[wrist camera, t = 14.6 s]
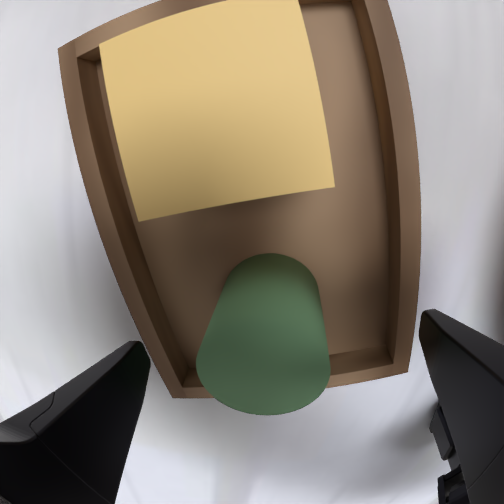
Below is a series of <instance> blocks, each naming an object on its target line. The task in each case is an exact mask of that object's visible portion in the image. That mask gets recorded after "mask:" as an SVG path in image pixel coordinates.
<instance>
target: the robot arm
mask: <svg viewBox="0 0 504 504" xmlns="http://www.w3.org/2000/svg"><path fill="white" fill-rule="evenodd" d="M419 340H420V343H421V346H422V350H423V353H424V357H425V360H426V364H427V367H428V371H429V374H430V378H431V381H432V383H433V386H434V389H435V391H436V394H437V396H438V399H439V404H438V407H437V410H436V412H435V414H434V417H433V420H432V422H431V425H430V428H429V429H430V432H431V433H433V434H434V437H435V440H436V443H437V446H438V449H439V452H440V455H441V458H442V459H443V460H444V461H445V460H447V459H448V462H449V465H450V468H451V472H449V473H447V474H446V475H442V476H440V477H439V478H438V499H439V504H504V345H502V344H500V343H498V342H496V341H494V340H493V339H491V338H489V337H487V336H485V335H483V334H481V333H480V332H478V331H476V330H474V329H472V328H470V327H468V326H466V325H465V324H463V323H461V322H459V321H457V320H455V319H453V318H451V317H449V316H447V315H446V314H444V313H442V312H440V311H438V310H436V309H430V310H425V311H423V312H422V315H421V321H420V328H419ZM150 365H151V363H150V358H149V356H148V354H147V352H146V350H145V348H144V345H143V343H142V342H141V341H129V342H127V343H126V344H124V345H123V346H121V347H120V348H118V349H117V350H115V351H114V352H112V353H111V354H109V355H108V356H106V357H105V358H103V359H102V360H100V361H99V362H97V363H96V364H94V365H93V366H91V367H90V368H88V369H87V370H85V371H84V372H82V373H81V374H79V375H78V376H76V377H75V378H73V379H72V380H70V381H69V382H67V383H66V384H64V385H63V386H61V387H60V388H58V389H57V390H56V391H54V392H52V393H51V394H49V395H48V396H46V397H45V398H43V399H41V400H40V401H38V402H37V403H35V404H33V405H32V406H30V407H28V408H26V409H25V410H23V411H21V412H19V413H18V414H16V415H14V416H12V417H10V418H9V419H7V420H5V421H3V422H1V423H0V504H115V500H116V496H117V493H118V489H119V485H120V481H121V477H122V473H123V470H124V466H125V463H126V459H127V455H128V452H129V448H130V445H131V441H132V438H133V434H134V431H135V428H136V424H137V421H138V418H139V414H140V411H141V408H142V404H143V400H144V396H145V391H146V385H147V380H148V376H149V371H150Z"/></svg>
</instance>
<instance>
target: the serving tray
mask: <svg viewBox="0 0 504 504" xmlns="http://www.w3.org/2000/svg"><path fill="white" fill-rule="evenodd" d="M222 1H226V0H160V1H158V2H155V3H152V4H149V5H147V6H144V7H141V8H139V9H136V10H134V11H132V12H129V13H127V14H124V15H122V16H120V17H118V18H115V19H113V20H111V21H109V22H107V23H105V24H103V25H101V26H98V27H96V28H94V29H92V30H91V31H89V32H87V33H85V34H83V35H81V36H79V37H77V38H76V39H74V40H72V41H70V42H68V43H67V44H65V45H63V46H62V47H60V48H58V55H59V64H60V71H61V79H62V85H63V92H64V98H65V103H66V109H67V114H68V119H69V124H70V129H71V134H72V138H73V142H74V147H75V151H76V155H77V159H78V163H79V167H80V171H81V175H82V178H83V182H84V186H85V189H86V192H87V196H88V199H89V203H90V206H91V209H92V212H93V215H94V219H95V222H96V225H97V228H98V231H99V234H100V237H101V240H102V242H103V245H104V248H105V251H106V254H107V256H108V259H109V262H110V264H111V267H112V270H113V272H114V275H115V277H116V280H117V282H118V285H119V287H120V290H121V292H122V295H123V297H124V299H125V302H126V304H127V306H128V309H129V311H130V313H131V316H132V318H133V320H134V322H135V324H136V327H137V329H138V331H139V333H140V335H141V337H142V340H143V342H144V344H145V346H146V348H147V350H148V352H149V354H150V356H151V358H152V360H153V362H154V364H155V366H156V368H157V370H158V372H159V374H160V376H161V377H162V379H163V381H164V383H165V385H166V387H167V389H168V390H169V392H170V394H171V396H172V398H214V397H213V396H212V395H211V394H210V393H209V392H208V391H207V390H206V389H205V387H204V386H203V385H202V383H201V381H200V379H199V377H198V374H197V369H196V358H197V354H198V351H199V348H200V346H201V343H202V341H203V338H204V336H205V333H206V330H207V328H208V325H209V323H210V320H211V318H212V315H213V313H214V310H215V307H216V305H217V302H218V300H219V297H220V295H221V292H222V290H223V287H224V285H225V282H226V280H227V277H228V276H229V274H230V272H231V271H232V270H233V269H234V268H235V267H236V266H237V265H238V264H239V263H241V262H242V261H243V260H245V259H247V258H249V257H252V256H255V255H259V254H266V253H276V254H282V255H286V256H289V257H291V258H294V259H296V260H297V261H299V262H301V263H302V264H303V265H305V266H306V267H307V268H308V269H309V270H310V272H311V273H312V274H313V276H314V278H315V279H316V282H317V284H318V288H319V294H320V300H321V306H322V312H323V318H324V325H325V332H326V338H327V345H328V352H329V360H330V367H331V370H330V378H329V381H328V384H327V386H326V388H330V387H337V386H343V385H349V384H354V383H360V382H365V381H370V380H375V379H380V378H385V377H389V376H394V375H398V374H402V373H406V372H408V368H409V362H410V356H411V350H412V343H413V336H414V329H415V321H416V312H417V302H418V290H419V276H420V255H421V196H420V176H419V161H418V150H417V140H416V131H415V123H414V116H413V109H412V102H411V96H410V91H409V85H408V80H407V75H406V70H405V65H404V60H403V56H402V52H401V47H400V43H399V39H398V35H397V32H396V28H395V24H394V21H393V17H392V14H391V11H390V7H389V4H388V1H387V0H298V2H299V6H300V9H301V13H302V17H303V21H304V24H305V28H306V32H307V36H308V40H309V45H310V49H311V53H312V58H313V62H314V67H315V71H316V76H317V81H318V86H319V91H320V96H321V101H322V106H323V112H324V117H325V123H326V129H327V135H328V141H329V148H330V154H331V161H332V168H333V175H334V183H335V187H332V188H325V189H318V190H311V191H304V192H297V193H291V194H284V195H278V196H272V197H266V198H260V199H254V200H248V201H242V202H237V203H231V204H225V205H220V206H215V207H209V208H204V209H199V210H194V211H188V212H183V213H178V214H173V215H169V216H164V217H159V218H154V219H149V220H145V221H140V222H139V221H138V218H137V215H136V211H135V208H134V204H133V201H132V197H131V194H130V190H129V187H128V183H127V179H126V175H125V172H124V168H123V164H122V160H121V156H120V152H119V147H118V143H117V139H116V134H115V130H114V125H113V121H112V116H111V111H110V106H109V101H108V96H107V91H106V85H105V80H104V74H103V68H102V62H101V55H100V48H99V44H101V43H103V42H105V41H107V40H109V39H111V38H114V37H116V36H118V35H120V34H123V33H125V32H128V31H130V30H132V29H135V28H137V27H140V26H143V25H145V24H148V23H151V22H153V21H156V20H159V19H162V18H165V17H168V16H171V15H174V14H177V13H180V12H184V11H187V10H191V9H194V8H198V7H201V6H205V5H209V4H213V3H217V2H222Z"/></svg>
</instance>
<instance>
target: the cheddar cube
mask: <svg viewBox="0 0 504 504" xmlns="http://www.w3.org/2000/svg"><path fill="white" fill-rule="evenodd" d="M99 48H100V55H101V62H102V68H103V74H104V80H105V85H106V91H107V96H108V101H109V106H110V111H111V116H112V121H113V125H114V130H115V134H116V139H117V143H118V147H119V152H120V156H121V160H122V164H123V168H124V172H125V175H126V179H127V183H128V187H129V190H130V194H131V197H132V201H133V204H134V208H135V211H136V215H137V218H138V221H139V222H140V221H145V220H149V219H154V218H159V217H164V216H169V215H173V214H178V213H183V212H188V211H194V210H199V209H204V208H209V207H215V206H220V205H225V204H231V203H237V202H242V201H248V200H254V199H260V198H266V197H272V196H278V195H284V194H291V193H297V192H304V191H311V190H318V189H325V188H332V187H335V183H334V175H333V168H332V161H331V154H330V148H329V141H328V135H327V129H326V123H325V117H324V112H323V106H322V101H321V96H320V91H319V86H318V81H317V76H316V71H315V67H314V62H313V58H312V53H311V49H310V45H309V40H308V36H307V32H306V28H305V24H304V21H303V17H302V13H301V9H300V6H299V2H298V0H226V1H222V2H217V3H213V4H209V5H205V6H201V7H198V8H194V9H191V10H187V11H184V12H180V13H177V14H174V15H171V16H168V17H165V18H162V19H159V20H156V21H153V22H151V23H148V24H145V25H143V26H140V27H137V28H135V29H132V30H130V31H128V32H125V33H123V34H120V35H118V36H116V37H114V38H111V39H109V40H107V41H105V42H103V43H101V44H99Z"/></svg>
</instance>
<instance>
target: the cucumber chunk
mask: <svg viewBox="0 0 504 504" xmlns="http://www.w3.org/2000/svg"><path fill="white" fill-rule="evenodd" d="M196 369H197V374H198V377H199V379H200V381H201V383H202V385H203V386H204V387H205V389H206V390H207V391H208V392H209V393H210V394H211V395H212V396H213V397H214V398H215V399H217V400H218V401H220V402H221V403H223V404H225V405H227V406H228V407H231V408H233V409H235V410H238V411H241V412H245V413H249V414H256V415H279V414H285V413H289V412H293V411H296V410H298V409H301V408H303V407H305V406H307V405H309V404H310V403H311V402H313V401H314V400H315V399H317V398H318V397H319V396H320V395H321V393H322V392H323V391H324V389H325V388H326V386H327V384H328V381H329V378H330V370H331V367H330V360H329V352H328V345H327V338H326V332H325V325H324V318H323V312H322V306H321V300H320V294H319V288H318V284H317V282H316V279H315V278H314V276H313V274H312V273H311V272H310V270H309V269H308V268H307V267H306V266H305V265H303V264H302V263H301V262H299V261H297V260H296V259H294V258H291V257H289V256H286V255H282V254H276V253H266V254H259V255H255V256H252V257H249V258H247V259H245V260H243V261H242V262H241V263H239V264H238V265H237V266H236V267H235V268H234V269H233V270H232V271H231V272H230V274H229V276H228V277H227V280H226V282H225V285H224V287H223V290H222V292H221V295H220V297H219V300H218V302H217V305H216V307H215V310H214V313H213V315H212V318H211V320H210V323H209V325H208V328H207V330H206V333H205V336H204V338H203V341H202V343H201V346H200V348H199V351H198V354H197V358H196Z"/></svg>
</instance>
